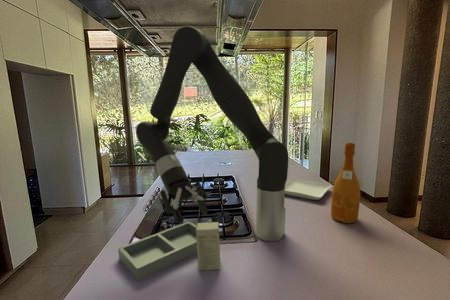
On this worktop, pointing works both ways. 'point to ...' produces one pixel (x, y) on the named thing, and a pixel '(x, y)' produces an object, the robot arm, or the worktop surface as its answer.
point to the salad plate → (306, 189)
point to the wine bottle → (346, 190)
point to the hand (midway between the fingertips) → (193, 217)
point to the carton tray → (159, 250)
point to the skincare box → (208, 246)
